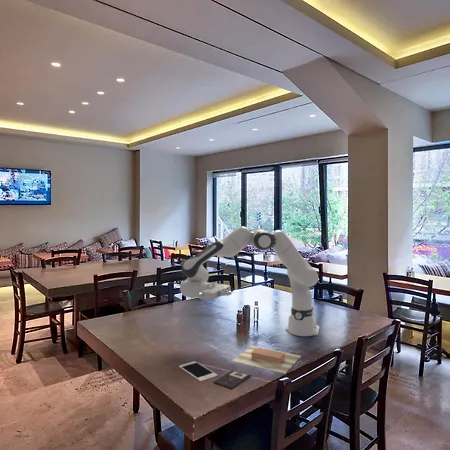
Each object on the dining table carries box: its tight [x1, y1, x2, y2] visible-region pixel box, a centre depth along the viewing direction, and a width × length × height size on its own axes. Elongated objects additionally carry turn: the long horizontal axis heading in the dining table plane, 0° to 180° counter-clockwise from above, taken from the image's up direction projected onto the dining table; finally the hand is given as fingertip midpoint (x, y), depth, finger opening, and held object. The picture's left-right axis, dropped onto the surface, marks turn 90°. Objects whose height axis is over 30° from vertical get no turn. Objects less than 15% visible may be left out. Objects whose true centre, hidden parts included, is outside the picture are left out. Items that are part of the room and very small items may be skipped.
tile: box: [251, 347, 286, 364], centre depth 171 cm, size 7×3×14 cm
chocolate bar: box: [213, 370, 252, 390], centre depth 152 cm, size 9×1×18 cm
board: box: [231, 345, 302, 376], centre depth 171 cm, size 22×26×1 cm
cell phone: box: [178, 360, 218, 383], centre depth 158 cm, size 9×18×1 cm, turn 37°
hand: (230, 293), depth 186 cm, fingers closed
